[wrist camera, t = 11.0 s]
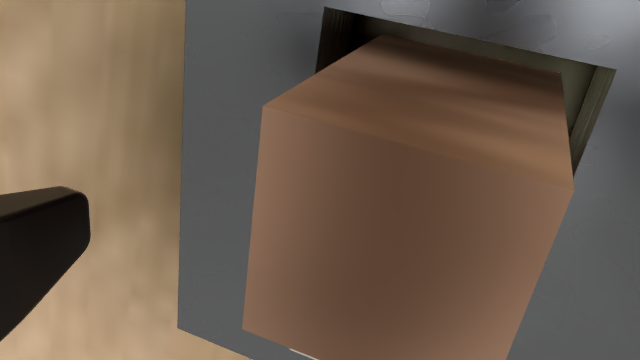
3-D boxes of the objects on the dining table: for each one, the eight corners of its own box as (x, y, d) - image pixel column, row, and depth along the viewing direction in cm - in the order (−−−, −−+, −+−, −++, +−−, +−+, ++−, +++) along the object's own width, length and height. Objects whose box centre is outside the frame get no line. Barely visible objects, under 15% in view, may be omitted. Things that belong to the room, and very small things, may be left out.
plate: (937, -201, 9) (1069, -247, 7) (587, 428, 16) (594, 507, 14) (253, -257, 12) (188, -301, 10) (216, 285, 20) (173, 331, 17)
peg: (561, 73, 13) (574, 190, 7) (505, 229, 15) (479, 423, 9) (382, 33, 14) (263, 105, 8) (353, 183, 16) (241, 329, 10)
